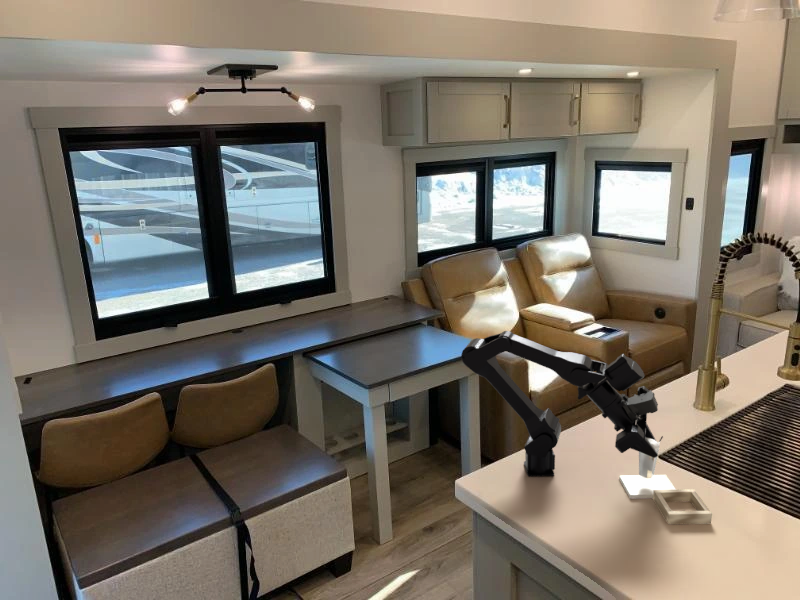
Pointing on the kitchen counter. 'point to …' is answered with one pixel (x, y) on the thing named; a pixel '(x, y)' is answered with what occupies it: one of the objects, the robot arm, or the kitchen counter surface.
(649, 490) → the pad
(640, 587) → the kitchen counter surface
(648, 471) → the milkshake
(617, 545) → the kitchen counter surface
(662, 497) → the holder
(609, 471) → the kitchen counter surface
